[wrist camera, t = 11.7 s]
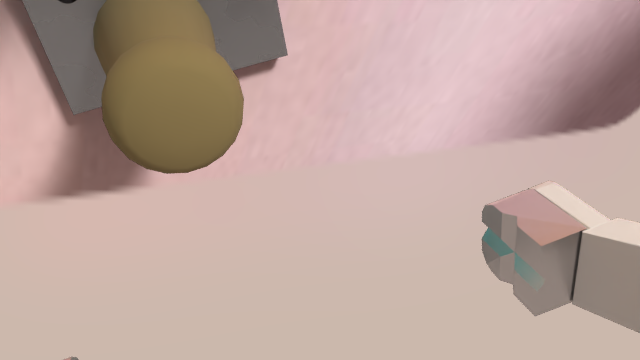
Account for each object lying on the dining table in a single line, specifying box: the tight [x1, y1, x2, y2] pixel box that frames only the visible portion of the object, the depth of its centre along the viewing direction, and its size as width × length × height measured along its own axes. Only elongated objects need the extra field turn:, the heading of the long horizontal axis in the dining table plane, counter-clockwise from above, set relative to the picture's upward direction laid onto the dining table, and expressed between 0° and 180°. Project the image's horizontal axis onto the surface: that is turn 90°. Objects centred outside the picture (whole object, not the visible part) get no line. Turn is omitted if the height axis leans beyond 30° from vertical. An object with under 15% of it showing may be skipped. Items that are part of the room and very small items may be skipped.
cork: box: [93, 0, 244, 174], centre depth 24 cm, size 6×6×11 cm
